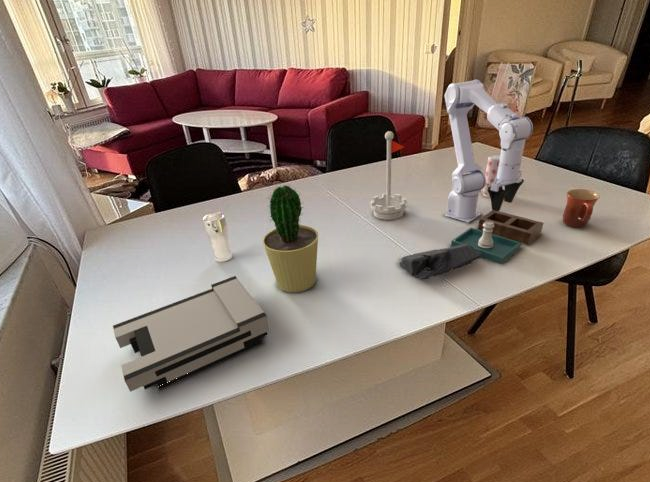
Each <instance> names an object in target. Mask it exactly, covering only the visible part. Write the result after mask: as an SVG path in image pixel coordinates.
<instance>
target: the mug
mask: <svg viewBox="0 0 650 482" xmlns="http://www.w3.org/2000/svg"><path fill="white" fill-rule="evenodd" d="M600 197H601V195H600V193H599V192H596V191H595V190H590V189H585V188H574V189H569V190H567V192H566V204H565V208H564V211H563V214H562V223H563V224H564V225H565V226H568V227H570V228H576V229H581V228H584V227H586V226H588V224H589V222H590V220H591V218H592V217H591V216H592V215H593V211H594V207H595V205H596V203H597V201H598V200H599V199H600Z"/></svg>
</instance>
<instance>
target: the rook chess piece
mask: <svg viewBox="0 0 650 482" xmlns="http://www.w3.org/2000/svg"><path fill="white" fill-rule="evenodd" d="M483 226H484V229H483V235H482V237H481V238H480V239H479V241H478V242H479V243H478V246H479V247H480V248H483V249H490V248H492V247H493V243H494V242H493V239H492V231H493V229H492V228H493V227H494V223H493V222H491V221H489V222H488V221H486V222H485V223H484V224H483Z"/></svg>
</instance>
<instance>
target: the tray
mask: <svg viewBox="0 0 650 482" xmlns="http://www.w3.org/2000/svg"><path fill="white" fill-rule="evenodd" d="M482 235H483V231H481V230H478V228H475V227H469V228H468V229H466V230H465V231H463V232H462V233H460V234H459V235H457V236H456V237H455V238H453V239H452V240H451V243H450V247H453V246H457V245H470V246H472V247H474V249H477V250H478V251H480V252H482V254H483V256H482V257H481V258H484V259H486V260H489V261H492V262H495V263H498V264H501V265H502V264H503V263H505V262H506V261H508V259H510V258H511V257H512V256H514V255H515V254H516V253H517V252H518V251H519V250H520V249H521V247H522V243H521V242H517V241H514V240H511V239H507V238H504V237H501V236H497V235H494V234H492V239H493V242H494V243H493V247H492V248H490V249H483V248H480V247H479V246H478V243H479V242H478V241H479V239H480V238H481V237H482Z"/></svg>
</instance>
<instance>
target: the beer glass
mask: <svg viewBox="0 0 650 482" xmlns="http://www.w3.org/2000/svg"><path fill="white" fill-rule="evenodd" d="M202 220H203V225H204V229H205V233H206V235H207V238H208V240H209V242H210V245H211V246H212V249H213V253H214V260H215V261H216V262H218V263H225V262H228V261H230V260H231V259H232V258H233V257H234V254H233V251H232V249H231V245H230V232H229V227H228V223H227V219H226V217H225V214H224V213H223V212H220V211H219V212H218V211H217V212H212V213H208V214H206V215H204V217H203V218H202ZM231 253H232V255H231V256H230V257H228V258H226V259H216V258H215V256H216V257H218V258H223V257H227V256H229V255H230V254H231Z"/></svg>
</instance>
